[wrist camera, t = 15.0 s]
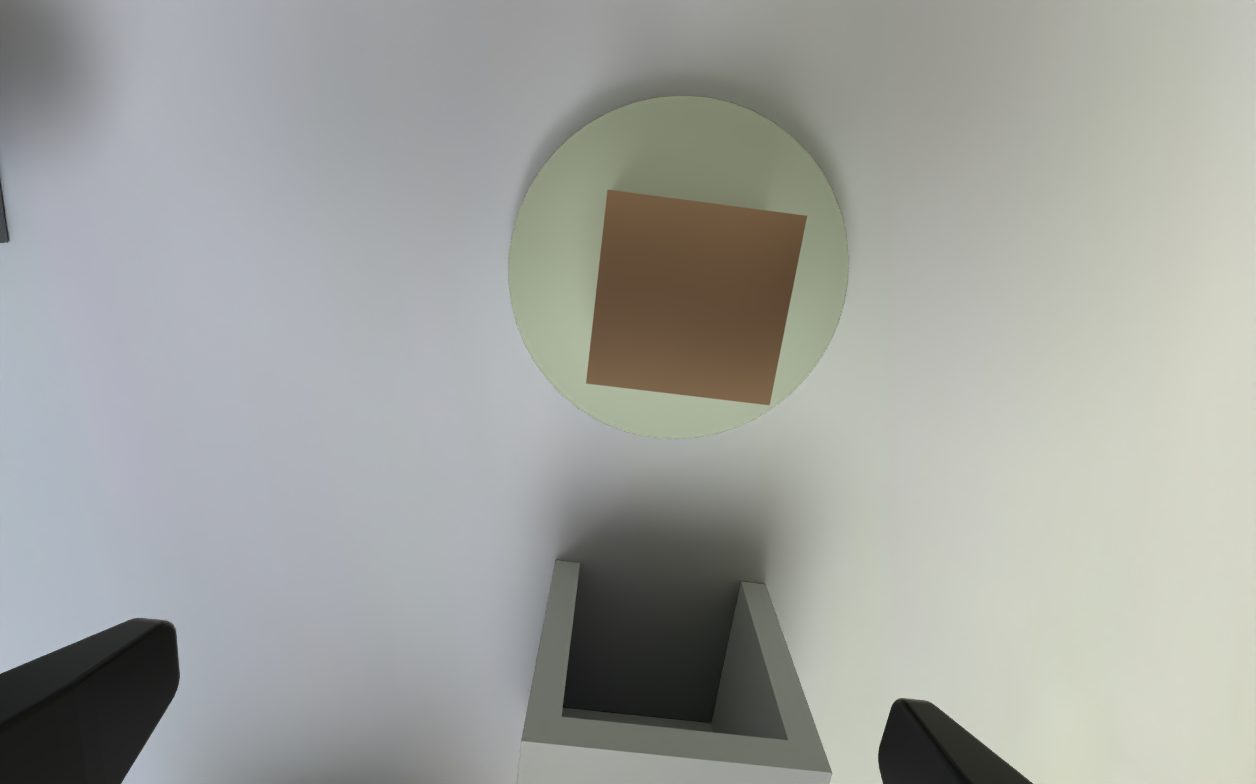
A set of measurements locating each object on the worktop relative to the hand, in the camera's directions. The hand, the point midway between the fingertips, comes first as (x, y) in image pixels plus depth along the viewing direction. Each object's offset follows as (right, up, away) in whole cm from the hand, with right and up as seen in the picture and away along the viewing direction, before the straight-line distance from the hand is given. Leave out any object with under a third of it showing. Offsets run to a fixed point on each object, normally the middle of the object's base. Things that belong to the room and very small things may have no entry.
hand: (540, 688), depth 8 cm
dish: (+2, +7, +10) cm, 13 cm away
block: (+2, +7, +9) cm, 12 cm away
